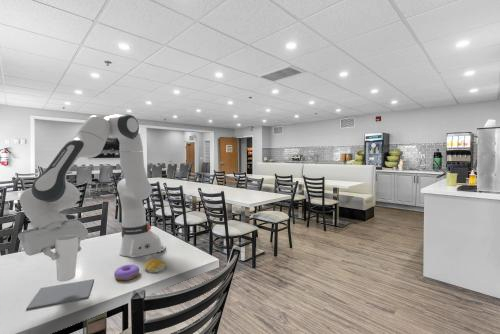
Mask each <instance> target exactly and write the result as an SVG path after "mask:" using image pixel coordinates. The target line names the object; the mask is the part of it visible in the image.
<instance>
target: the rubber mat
mask: <svg viewBox="0 0 500 334" xmlns="http://www.w3.org/2000/svg"><path fill="white" fill-rule="evenodd" d="M94 281H95V279H93V278H92V279H87V280H81V281H74V282H68V283H62V284H58V285H57V284H55V285H51V286H45V287H40V288H39V290H37V293H36V294H35V296H34V297H33V298H32V299H31V301H30V303H28V305H27V307H26V310H25V311H29V310H28V309H30V310H34V309H33V308H35V309H40V308H44V307H50V306H55V305H59V304H60V305H61V304H66V303H70V302H74V301H81V300H85V299H89V298H90V297H89V296H90V293H91V290H92V288H93V285H94Z"/></svg>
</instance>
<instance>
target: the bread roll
mask: <svg viewBox="0 0 500 334" xmlns="http://www.w3.org/2000/svg"><path fill="white" fill-rule="evenodd" d="M166 265H167V264H166V262H165V261H163V260H162V259H161V260H160V259H157V258H153V259H149V260H148V261H147V262H145V265H144V271H145V272H149V273H150V274H151V273H153V274H154V273H159V272H161V271H164V270H165V269H166Z"/></svg>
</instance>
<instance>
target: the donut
mask: <svg viewBox="0 0 500 334" xmlns="http://www.w3.org/2000/svg"><path fill="white" fill-rule="evenodd" d="M139 273H140V268H139V266H138V265H136V264H131V263H130V264H125V265H121V266H120V267H118V268H116V270H115V271H114V272H113V274H114V278H115V279H116V280H119V281H129V280H131V279H134V278H136V277H137V276H138V274H139Z"/></svg>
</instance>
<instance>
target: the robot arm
mask: <svg viewBox="0 0 500 334" xmlns="http://www.w3.org/2000/svg"><path fill="white" fill-rule="evenodd" d="M139 129H140V127H139V121H138V119H137V118H136V117H135V116H133V115H131V114H125V113H123V114H112V115H108V116H100V115H91V116H89V117H88V118H87V119H86V120H85V121H84V122H83V124H82V125H81V127H80V128H79V130H78V131H77V133H76V135H75V136H74V138H73V139H71V140H69V141H68V142H66V143H65V145H64V146H63V147H62V148H61V149H60V150H59V152H58V153H57V154H56V156H55V157H54V159H52V161H51V162H50V164H49V165H48V167H47V168H46V169H45V170H44V171H43V172H42V173H41V174H40V175H38V176H37V177H36V178H35V179H34V181H33V182H32V185H31V187H29V188H27V189H26V190H24V191H23V192H22V193H21V194H20V197H19V203H20V207H21V209H22V211H23V213H24V215H25V216H26V217H27V218H28V219H29V221H30V225H31V227H32V228H30V229H25V230H21V231H20V232H19V233H18V234H17V238H18V239H19V241H20V242H21V244H22V248H23V249H22V250H23V251H24V254H26V255H27V256H35V255H37V254H41V253H42V254H44V256H47V257H49V258H50V259H51V260H52V261H56V259H58V258H59V255H58V253H55V251H54V252H53V251H52V250H55V239H56V238H57V237H59V238H58V239H57V240H68V239H70V238H69V237H66V236H65V235H77V236H78V253H80V252H81V251H82V247H81V246H80V245H81V241H84V240H86V238H87V237H88V235H89V231H88V229H87V227H86V226H85V224H84V223H83V222H81V221H80V220H78V219H79V217H78V216H77V215H76V214H67V213H60V212H62V211H65V210H67V209H69V208H71V207H73V206H75V205H76V204H77V203H78V202H79V201H80V198H81V192H80V190H79V188H78V187H76V186H75V185H74V184H73V183H71V182H69V181H68V180H67V174H68V173H69V172H70V170H71V169H72V167H73V166H74V165H75V163H76V161H77V160H78V159H79V158H86V159H89V158H90V159H91V158H95V157H97V156H99V155H100V153H101V152H102V151H103V149H104V147H105V145H106V142H107V140H108V139H117V140H118V142H119V164H120V165H119V166H120V169H121V170H122V173H123V176H124V178H122V179H121V180H120V181H118V183H117V186H116V191H117V192H118V196H119V201H120V206H121V212H122V214H121V216H122V218H121V219H122V225H121V231H120V232H121V235H120V236H121V245H120V250H119V253H118V254H119V255H120V256H122V257H130V258H132V259H133V258H139V257H144V256H150V255H153V254H157V252H159V253H161V251H163V250H164V249H165V250H166V245H165V244H164V243H163V242H161V238H160V236H159V235H158V234H157V233H155V232H153V230H151V229H152V227H151V225H150V224H149V223H146V207H145V206H144V203H143V200H146V199H148V198H149V197H150V196H151V195H152V192H153V186H152V185H151V183H150V182H149V178H148V176H147V173H146V168H145V162H144V161H145V160H144V148H143V142H142V138H141V137H142V136H141V134H140V133H139V131H140V130H139ZM165 250H164V251H165ZM164 251H163V252H164Z"/></svg>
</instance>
